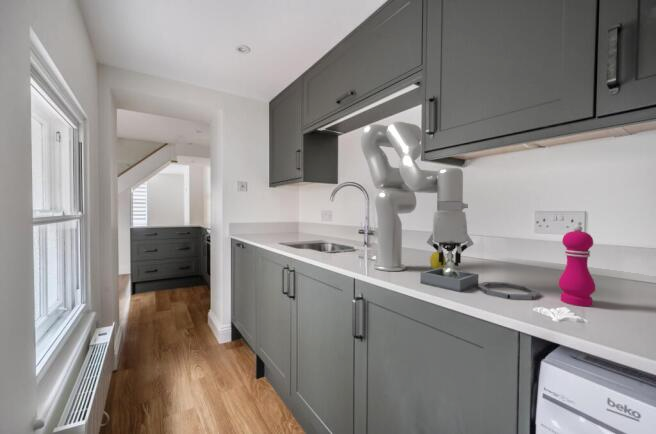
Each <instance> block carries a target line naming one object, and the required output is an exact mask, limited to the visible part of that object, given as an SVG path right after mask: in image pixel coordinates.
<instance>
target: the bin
mask: <svg viewBox="0 0 656 434" xmlns="http://www.w3.org/2000/svg"><path fill="white" fill-rule="evenodd" d="M444 268H445V267H444ZM444 268H437V269H433V268H432V269H429V270H425V271H422V272H420V277H419V278H420V284H422V285H427V286H431V287H436V288H440V289H444V290H447V291H449V290H450V291H453V292H458V293H461V292H464V291H466V290H469V289H472V288H475V287H477V285H478V284H479V274H478V273H473V272H468V271H461V270H457V272H458V273H459V279H456V278H451V277H445V276H444V275H443V269H444ZM452 273H453V272H451V273H450V274H449V276H450V275H452Z"/></svg>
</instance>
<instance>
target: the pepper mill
mask: <svg viewBox="0 0 656 434" xmlns="http://www.w3.org/2000/svg"><path fill="white" fill-rule="evenodd" d="M572 227H573V228H572V229H573V230H572V231H568V232H567V233H565V234H564V235H563V237H562V241H561V243H562V245H563V246H564V247H565V248H566V249H564V255H565V256H566V266H565V269H564V271H562V273H561V275H560V277H559V280H558V287H559V289H561V290H562V292H561V293H560V301H561V302H563V303H565V304H568V305H571V306H572V305H573V306H579V307H592V306H593V299H594V298H593V297H592V296H591V295H592V294H593V293H595V291H596V283H595V280H594V279H593V277H592V275H591V273H590V269H589V267H588V260H589V258H590V257H591V251H590V248H592V247H593V246H594V239H593V236H591V234H589V233H588V232H585V231H583V226H582V225H580V224H576V225H574V226H572Z"/></svg>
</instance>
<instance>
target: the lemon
mask: <svg viewBox="0 0 656 434" xmlns="http://www.w3.org/2000/svg"><path fill="white" fill-rule="evenodd" d="M429 259H430V261H429V263H430V266H431V268H432V270H433V269H437V268H446V265H445V262H447V260H446V257H445V255H444V265H441V262H439V252H438V251H437V250H436V251H435V252H433V253H432V254H431V256H430V258H429Z"/></svg>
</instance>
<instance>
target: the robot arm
mask: <svg viewBox="0 0 656 434" xmlns="http://www.w3.org/2000/svg"><path fill="white" fill-rule="evenodd" d="M422 138H423V131H422V128H421V127H419V125H417V124H414V123H410V122H403V121H395V122H392V123H391V124H389V125H384V124H376V123H375V124H374V123H373V124H369V125H367V126H366V127H364V129H363V130H362V132H361V136H360V147H361V150H362V153H363V155H364V158H365V159H366V162H367V165H368V168H369V170H368V171H369V173H370V177H371V179H372V183H373V185H374V187H375V188H376V189H377V190H381V191H380V192H379V193H377V195H376V197H375V199H374V202H375V203H374V205H375V210H376V215H377V255H373V256H372V257H371V261H374V262H375V263H374V264H373V269H375V270H378V271H383V272H385V271H386V272H399V271H404V270H405V269H406V268H407V267H406V265H405V264H403V263H402V259H403V258H402V257H403V256H402V253H403V252H402V251H403V248H402V244H403V243H402V242H403V238H402V236H403V234H402V233H403V227H402V226H403V225H402V221H401V217H400V216H399V215H402V214H403V215H404V214H411V213H412V212H414V210H415V209H416V208H417V196H416V193H418V194H419V193H422V194H423V193H424V194H426V193H427V194H436V204H437V205H436V209H437V210H436V211H434V215H433V220H432V222H433V223H432V233H431V235H430V236H429V238H428V239H427V241H426V243H427V244H428V245H430V247H433V248H434V249H435V250H436V252H437V251H438V252H439V262H441V265H444V256H445V255H444V251H443V250H444V248H443V245H441V246H439V243H460V246H457V245H456V251H455V253H454V255H455V260H454V262H455V263H456V266H455V267H459V264H461V262H462V261H461V257H462V255H461V254H462V253H463V252H464V251H465V250H466V249H467V248H469V247H472V246H473V245H474V242H473V240H472V239H471V237H470V235H469V234H468V223H467V215H466V212H465V211H464V210H465V209H468V208H469V204H468V203H465V202H464V199H463V197H464V196H463V195H464V172H463V170H462V169H461V168H459V167H446V168H445V167H444V168H442V169H440V170H438V171H437V170H426V169H421V168H420V167H419V166H418V164H417V163H416V160H417V159H419V157H421V155H422V153H423V150H424V149H423V145H422V144H421V141H422ZM381 147H385V148H393V149H394V151H395V152H396V154H397V155H398V157H399V159H400V160H399V164H398V167H392V166H391V164H390V161H389V159H388V156H387V154H386V152H385V151H384V150H383V149H382V148H381ZM462 244H463V245H462Z"/></svg>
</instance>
